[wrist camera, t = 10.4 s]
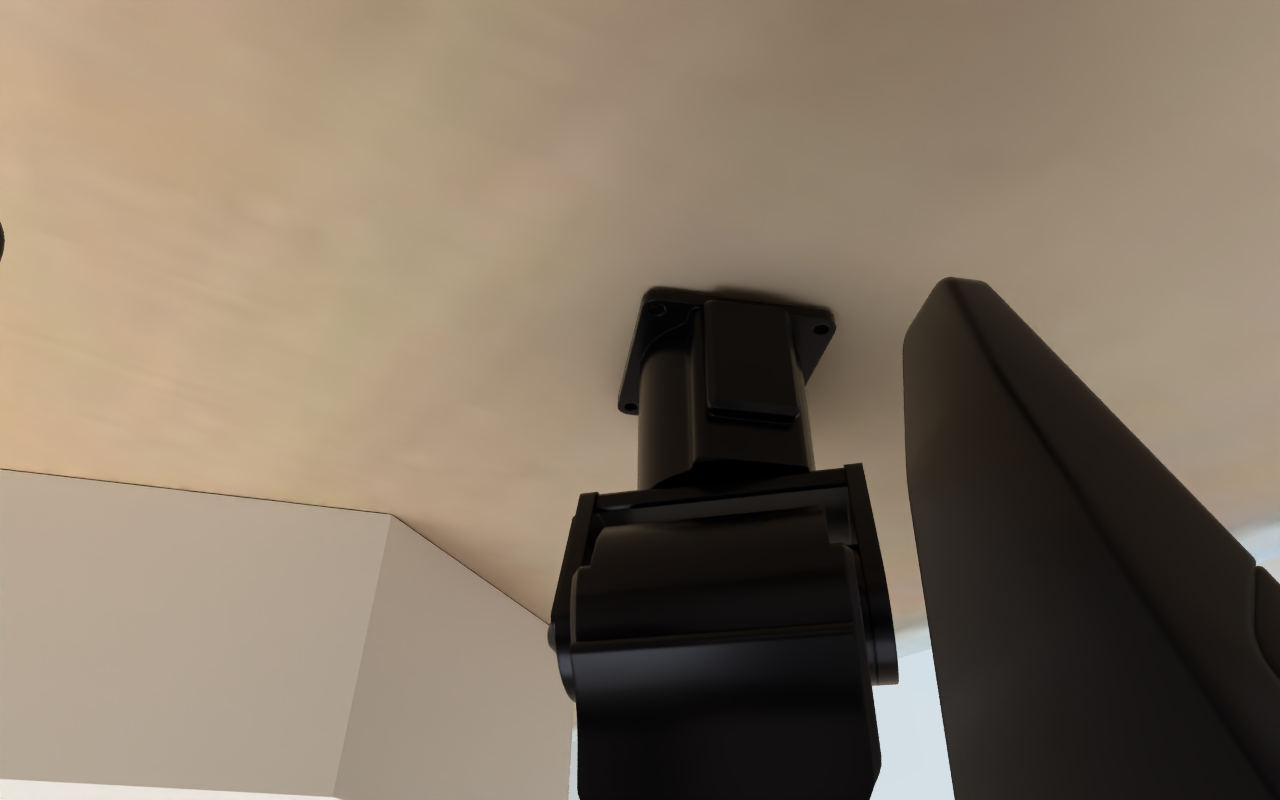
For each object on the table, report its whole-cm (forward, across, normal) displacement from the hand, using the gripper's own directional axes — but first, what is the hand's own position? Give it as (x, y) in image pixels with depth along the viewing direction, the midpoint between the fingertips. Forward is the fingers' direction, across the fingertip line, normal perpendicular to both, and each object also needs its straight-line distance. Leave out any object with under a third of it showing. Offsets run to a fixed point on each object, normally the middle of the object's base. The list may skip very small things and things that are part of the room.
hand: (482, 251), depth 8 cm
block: (+13, +10, +38) cm, 42 cm away
